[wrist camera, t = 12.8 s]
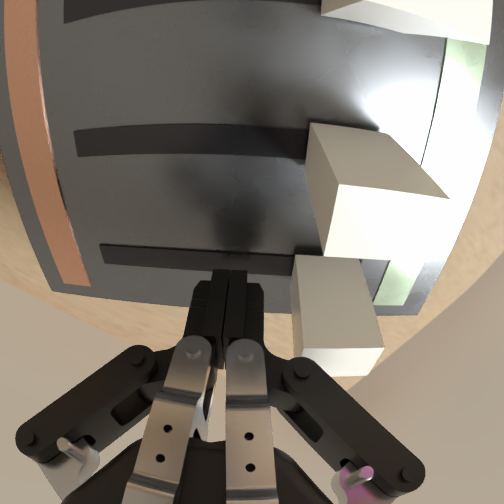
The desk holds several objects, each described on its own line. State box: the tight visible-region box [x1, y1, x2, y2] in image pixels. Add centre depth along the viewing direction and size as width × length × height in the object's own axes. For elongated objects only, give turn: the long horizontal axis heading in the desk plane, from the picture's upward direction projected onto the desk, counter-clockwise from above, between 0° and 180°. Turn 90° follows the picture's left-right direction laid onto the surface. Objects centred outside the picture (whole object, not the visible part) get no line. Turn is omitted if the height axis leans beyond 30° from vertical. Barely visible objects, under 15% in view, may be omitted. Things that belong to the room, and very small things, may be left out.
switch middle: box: [304, 122, 451, 262], centre depth 9 cm, size 2×3×5 cm, turn 88°
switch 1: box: [290, 255, 385, 377], centre depth 13 cm, size 2×3×5 cm, turn 87°
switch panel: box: [0, 0, 504, 316], centre depth 12 cm, size 19×23×2 cm
